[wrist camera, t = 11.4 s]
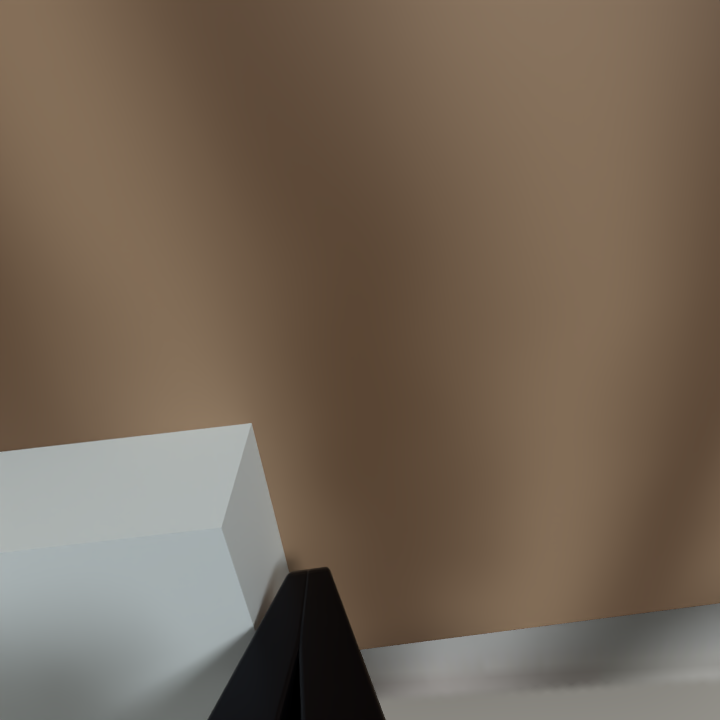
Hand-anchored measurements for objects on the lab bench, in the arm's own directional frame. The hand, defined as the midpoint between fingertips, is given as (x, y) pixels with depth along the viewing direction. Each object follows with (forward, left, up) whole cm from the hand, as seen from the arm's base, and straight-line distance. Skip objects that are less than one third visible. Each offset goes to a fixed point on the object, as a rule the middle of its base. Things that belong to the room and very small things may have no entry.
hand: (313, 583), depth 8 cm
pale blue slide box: (+4, +3, -1) cm, 5 cm away
